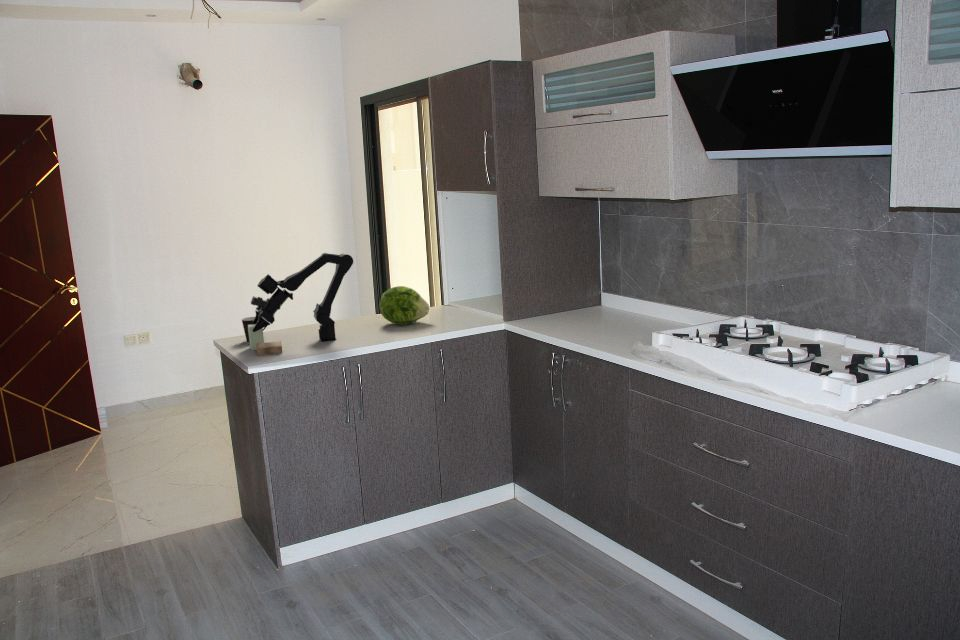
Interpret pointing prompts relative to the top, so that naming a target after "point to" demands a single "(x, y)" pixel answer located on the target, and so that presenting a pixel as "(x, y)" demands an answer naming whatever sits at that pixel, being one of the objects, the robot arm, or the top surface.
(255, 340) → the tea tin
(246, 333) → the coffee mug
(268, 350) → the walnut block
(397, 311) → the lettuce
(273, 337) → the top surface
